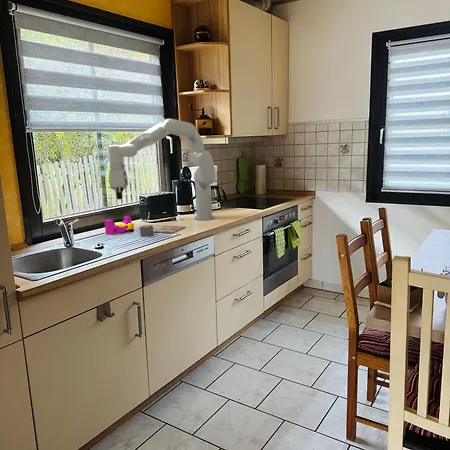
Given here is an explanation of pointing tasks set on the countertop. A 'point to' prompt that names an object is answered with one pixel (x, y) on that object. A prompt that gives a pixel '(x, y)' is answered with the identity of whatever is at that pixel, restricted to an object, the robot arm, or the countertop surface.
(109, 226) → the toy block
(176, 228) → the striped panel
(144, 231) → the die
